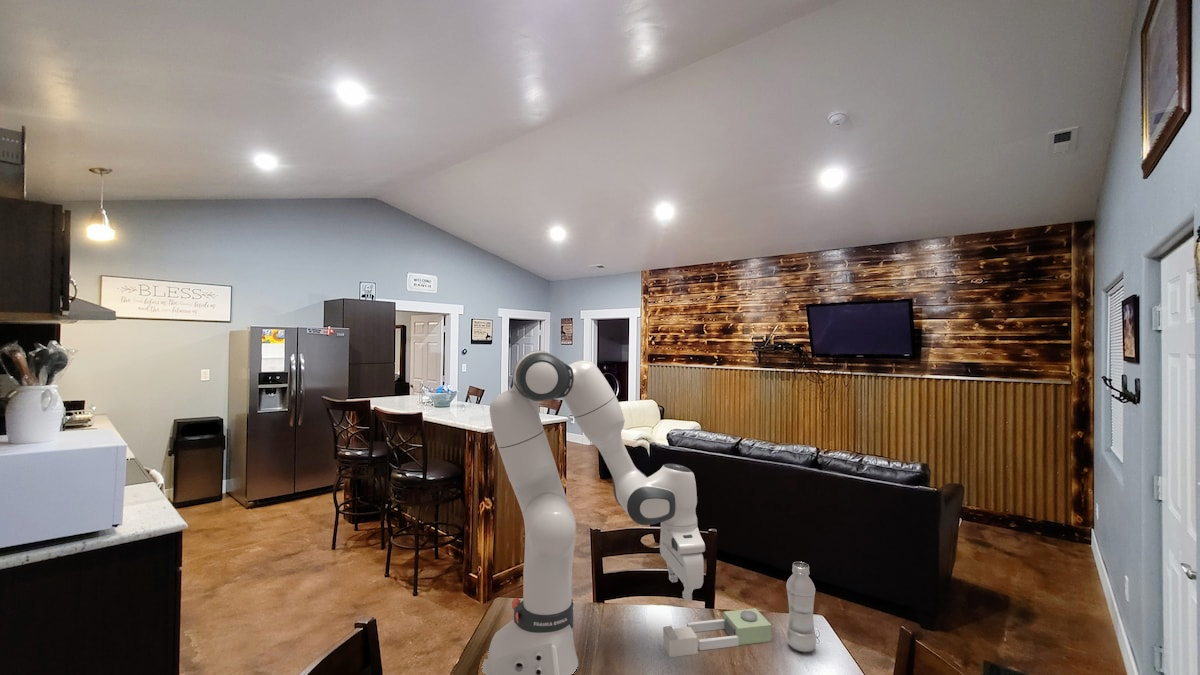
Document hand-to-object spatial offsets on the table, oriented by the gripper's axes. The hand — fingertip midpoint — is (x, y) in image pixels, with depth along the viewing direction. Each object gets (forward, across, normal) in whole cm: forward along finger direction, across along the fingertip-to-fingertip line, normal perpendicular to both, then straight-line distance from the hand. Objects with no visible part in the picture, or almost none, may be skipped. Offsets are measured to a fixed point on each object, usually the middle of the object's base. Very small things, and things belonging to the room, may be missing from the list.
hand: (680, 590), depth 119 cm
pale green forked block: (+14, -3, +14) cm, 20 cm away
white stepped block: (+14, 0, 0) cm, 14 cm away
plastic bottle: (+15, +5, +29) cm, 33 cm away
